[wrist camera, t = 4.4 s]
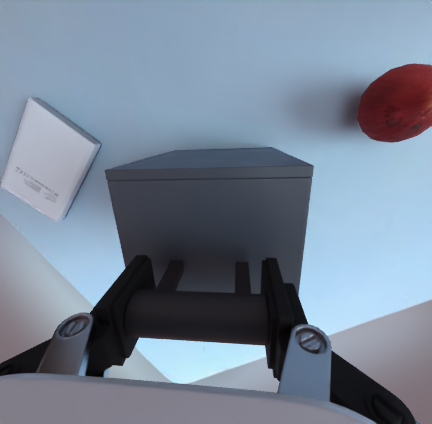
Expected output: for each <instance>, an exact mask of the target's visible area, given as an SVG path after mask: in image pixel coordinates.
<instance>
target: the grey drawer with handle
mask: <svg viewBox="0 0 432 424" xmlns="http://www.w3.org/2000/svg"><path fill="white" fill-rule="evenodd" d="M313 167H314V166H313V165H311V164H309V163H306V162H304V161H302V160H299V159H297V158H295V157H293V156H290V155H288V154H286V153H283V152H281V151H279V150H277V149H274V148H272V147H269V148H237V149H204V150H175V151H171V152H168V153H164V154H161V155H157V156H153V157H150V158H146V159H143V160H139V161H136V162H132V163H128V164H125V165H121V166H118V167H114V168H111V169H107V170H105V174H106V178H107V180H108V187H109V192H110V196H111V201H112V206H113V211H114V215H115V220H116V225H117V230H118V234H119V239H120V244H121V248H122V253H123V258H124V263H125V267H127V266H128V265H129V263H130V262H131V261H132V260H133V259H134V257H135V256H136V255H147V256H148V258H151V262H152V268H153V273H154V279H155V285H156V290H146V289H138V290H136V291H135V292H134V293H133V294H132V296H131V297H130V299H129V301H128V304H127V307H126V311H125V318H124V327H125V332H126V334H127V335H128V336H129V337H140V338H155V339H171V340H187V341H203V342H219V343H235V344H251V345H268V343H269V311H268V303H267V298H266V295H265V294H260V290H261V268H262V260H266V258H277V261H278V265H279V268H280V272H281V275H282V278H283V282H284V283H293V284H294V286H295V289H296V291H297V294H299V285H300V277H301V268H302V260H303V251H304V243H305V234H306V226H307V217H308V209H309V200H310V192H311V183H312V178H311V177H312V176H313Z"/></svg>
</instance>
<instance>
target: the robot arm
mask: <svg viewBox="0 0 432 424" xmlns="http://www.w3.org/2000/svg"><path fill="white" fill-rule="evenodd" d="M138 289H146V290H156V285H155V279H154V273H153V268H152V262H151V258H148V256H147V255H136V256H135V257H134V259H133V260H132V261H131V262H130V263H129V265H128V266H127V267H126V268H125V270H124V271H123V272H122V273H121V275H120V276H119V277H118V278H117V280H116V281H115V282H114V283H113V285H112V286H111V287H110V288H109V290H108V291H107V292H106V293H105V294H104V296H103V297H102V298H101V299H100V301H99V302H98V303H97V304H96V306H95V307H94V308H93V310H92V311H91V312H90V313H79V314H75V315H73V316H71V317H69V318H67V319H66V320H64V321H63V322H62V323H61V324H60V325H59V326H58V327H57V329H56V330H55V332H54V334H53V337H52V338H51V339H49V340H48V341H45V342H43V343H41V344H39V345H37V346H35V347H33V348H31V349H29V350H27V351H25V352H23V353H21V354H19V355H17V356H15V357H13V358H11V359H9V360H7V361H4V362H2V363H1V364H0V424H420V423H418V422H417V421H415V419H414V417H413V415H412V414H411V412H410V410H409V409H408V408H407V407H406V405H405V404H404V403H403V402H402V401H401V400H400V399H399V398H397V397H396V396H395V395H393V394H392V393H391V392H390V391H388V390H387V389H385V388H384V387H383V386H381V385H380V384H378V383H377V382H375V381H374V380H373V379H371V378H370V377H368V376H367V375H366V374H364V373H363V372H361V371H360V370H358V369H357V368H356V367H354V366H353V365H351V364H350V363H349V362H347V361H346V360H344V359H343V358H341V357H340V356H339V355H337V354H335V353H334V352H333V351H332V350H331V348H332V347H331V342H330V340H329V338H328V336H327V335H326V334H325V333H324V332H323V331H322V330H320V329H319V328H317V327H315V326H313V325H309V324H308V322H307V319H306V317H305V314H304V311H303V308H302V305H301V303H300V300H299V297H298V294H297V291H296V289H295V286H294V284H293V283H284V282H283V278H282V275H281V272H280V268H279V265H278V261H277V258H266V260H262V268H261V290H260V294H265V295H266V298H267V303H268V311H269V343H268V345H265V348H266V356H267V364H268V368H269V369H273V376H274V378H277V379H278V380H279V382H280V383H279V387H278V392H277V393H273V392H264V391H255V390H244V389H234V388H222V387H212V386H200V385H189V384H178V383H166V382H154V381H142V380H130V379H117V378H108V372H109V368H110V367H111V366H112V365H118V366H123V364H124V361H125V359H126V358H129V357H130V355H131V353H132V351H133V349H134V347H135V345H136V343H137V341H138V338H139V337H129V336H128V335H127V334H126V332H125V327H124V318H125V311H126V307H127V304H128V301H129V299H130V297H131V296H132V294H133V293H134V292H135V291H136V290H138Z"/></svg>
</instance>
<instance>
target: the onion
mask: <svg viewBox="0 0 432 424" xmlns="http://www.w3.org/2000/svg"><path fill="white" fill-rule="evenodd" d="M357 119H358V123H359V125H360V127H361V129H362V131H363V132H364V133H365V134H366V135H368V136H369V137H370V138H371V139H374V140H377V141H384V142H399V141H402V140H406V139H409V138H412V137H415V136H417V135H419V134H421V133H422V132H423V131H425V130H426V129H428V128H429V127H430V126H432V65H425V64H407V65H404V66H401V67H397V68H394V69H391V70H389V71H388V72H386V73H385V74H383V75H382V76H380V77H379V78H378V79H376V80H375V81H373V82H372V83H371V84H370V86H369V87H368V88H367V90H366V91H365V92H364V94H363V95H362V97H361V100H360V103H359V106H358V116H357Z"/></svg>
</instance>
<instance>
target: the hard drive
mask: <svg viewBox="0 0 432 424" xmlns="http://www.w3.org/2000/svg"><path fill="white" fill-rule="evenodd" d="M100 146H101V143H100V142H99V141H97V140H96V139H95V138H93V137H92V136H91V135H89V134H88V133H87V132H85V131H84V130H82V129H81V128H80V127H78V126H77V125H76V124H74V123H73V122H71V121H70V120H69V119H67V118H66V117H65V116H63V115H62V114H60V113H59V112H58V111H56V110H55V109H54V108H52V107H51V106H50V105H48V104H47V103H45V102H44V101H42V100H41V99H39V98H36V97H29V99H28V102H27V105H26V108H25V111H24V114H23V117H22V120H21V123H20V126H19V129H18V133H17V136H16V139H15V142H14V145H13V148H12V151H11V154H10V157H9V160H8V163H7V166H6V170H5V173H4V176H3V179H2V182H1V187H2V188H4V189H5V190H7V191H8V192H10V193H11V194H13V195H15V196H16V197H18V198H19V199H21V200H22V201H24V202H26V203H27V204H29V205H30V206H32V207H33V208H35V209H36V210H38V211H39V212H41V213H42V214H44V215H45V216H47V217H48V218H50V219H52V220H53V221H56V222H59V221H61V220H63V219H64V217H65V216H66V213H67V212H68V210H69V208H70V206H71V204H72V202H73V200H74V198H75V196H76V194H77V192H78V190H79V188H80V186H81V184H82V182H83V180H84V178H85V176H86V174H87V172H88V170H89V168H90V166H91V164H92V162H93V160H94V158H95V156H96V154H97V152H98V150H99V148H100Z"/></svg>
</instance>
